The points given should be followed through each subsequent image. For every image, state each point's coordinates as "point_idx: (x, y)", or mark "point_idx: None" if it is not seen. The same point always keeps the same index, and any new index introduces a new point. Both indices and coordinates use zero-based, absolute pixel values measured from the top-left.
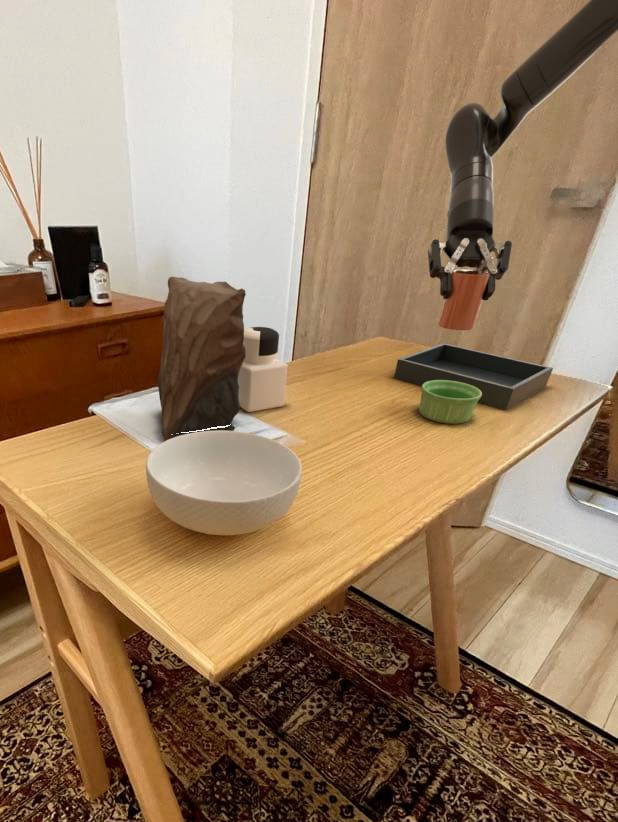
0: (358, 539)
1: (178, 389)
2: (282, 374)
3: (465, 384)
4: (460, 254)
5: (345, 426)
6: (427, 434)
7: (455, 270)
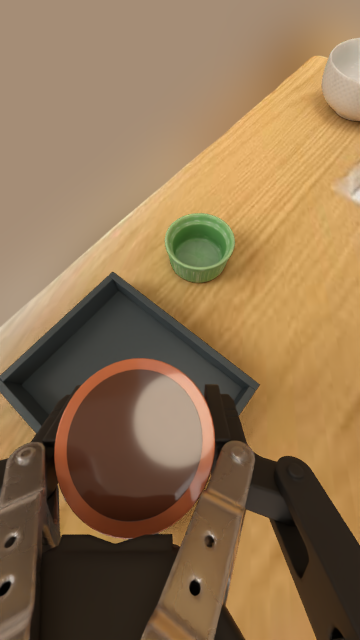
0: (275, 104)
1: None
2: None
3: (177, 259)
4: (189, 538)
5: (301, 219)
6: (222, 216)
7: (194, 489)
